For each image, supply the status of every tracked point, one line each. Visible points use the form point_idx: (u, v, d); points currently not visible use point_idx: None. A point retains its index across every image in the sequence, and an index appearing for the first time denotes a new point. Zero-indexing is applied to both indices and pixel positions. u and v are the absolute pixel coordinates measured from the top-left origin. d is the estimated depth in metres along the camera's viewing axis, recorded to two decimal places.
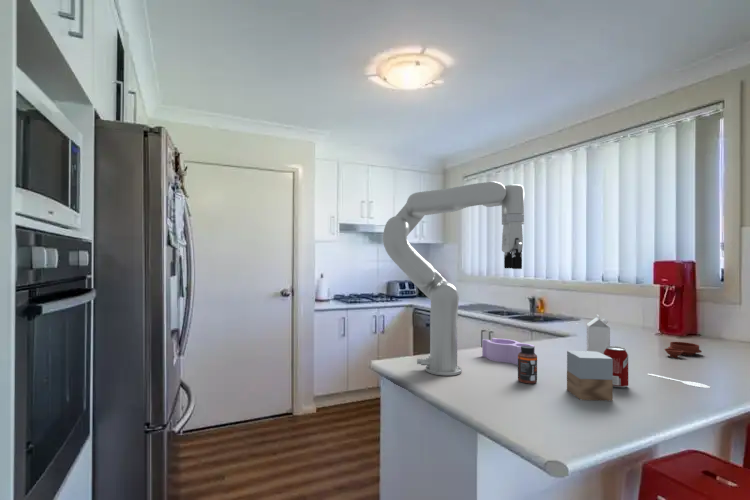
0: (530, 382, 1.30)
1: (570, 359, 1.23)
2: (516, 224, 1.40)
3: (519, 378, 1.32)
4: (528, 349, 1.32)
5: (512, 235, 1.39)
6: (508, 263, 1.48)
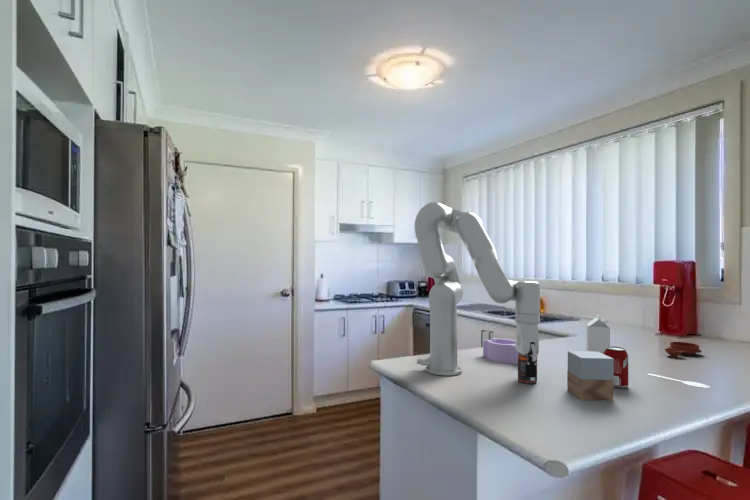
0: (530, 382, 1.30)
1: (570, 360, 1.23)
2: (531, 326, 1.29)
3: (519, 378, 1.32)
4: None
5: (527, 339, 1.29)
6: None
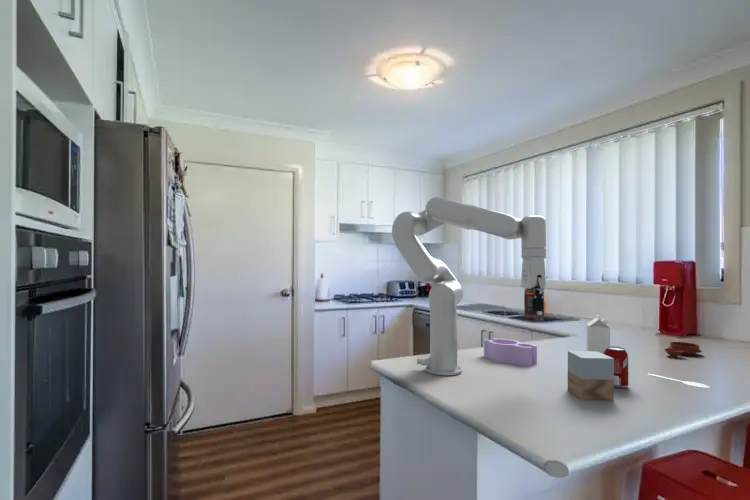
0: (537, 316, 1.29)
1: (570, 360, 1.23)
2: (538, 260, 1.28)
3: (526, 313, 1.32)
4: None
5: (534, 272, 1.28)
6: None
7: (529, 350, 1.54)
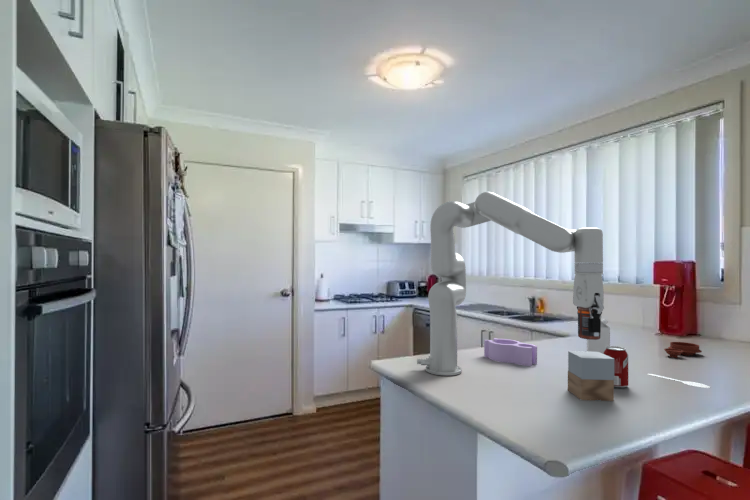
0: (594, 338, 1.18)
1: (571, 360, 1.23)
2: (595, 276, 1.17)
3: (580, 334, 1.20)
4: None
5: (591, 289, 1.16)
6: None
7: (529, 350, 1.54)
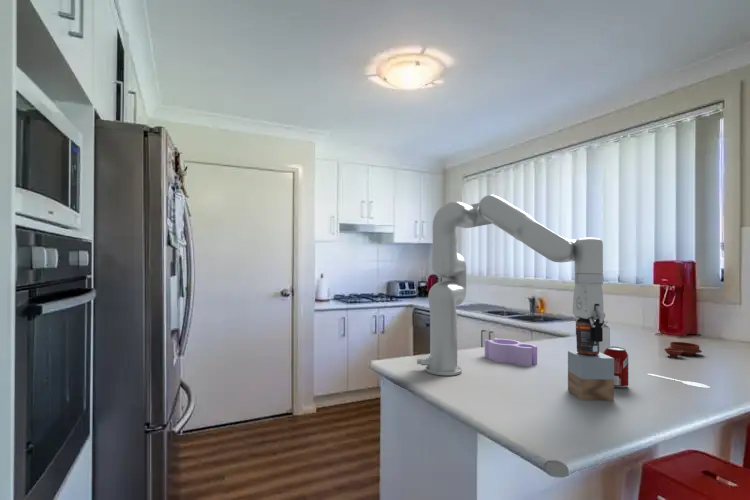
0: (592, 353, 1.18)
1: (571, 359, 1.23)
2: (595, 287, 1.17)
3: (579, 350, 1.20)
4: None
5: (591, 300, 1.16)
6: None
7: (529, 351, 1.53)
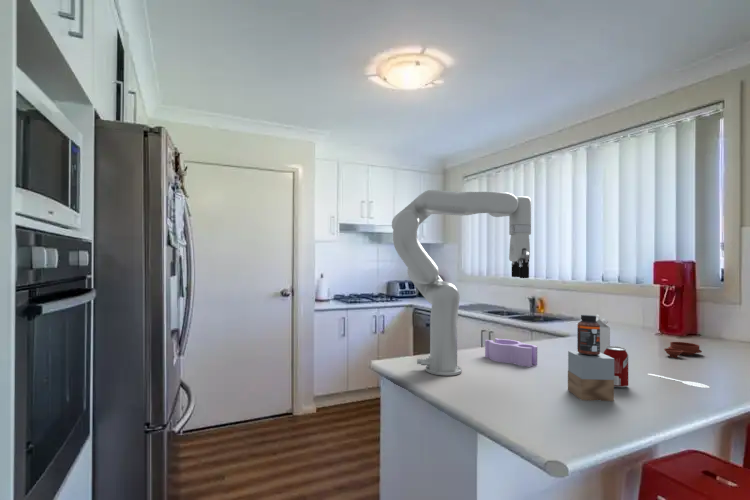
0: (591, 353, 1.18)
1: (571, 360, 1.23)
2: (523, 235, 1.45)
3: (579, 349, 1.21)
4: (589, 317, 1.20)
5: (519, 245, 1.44)
6: (515, 272, 1.53)
7: (529, 351, 1.53)
